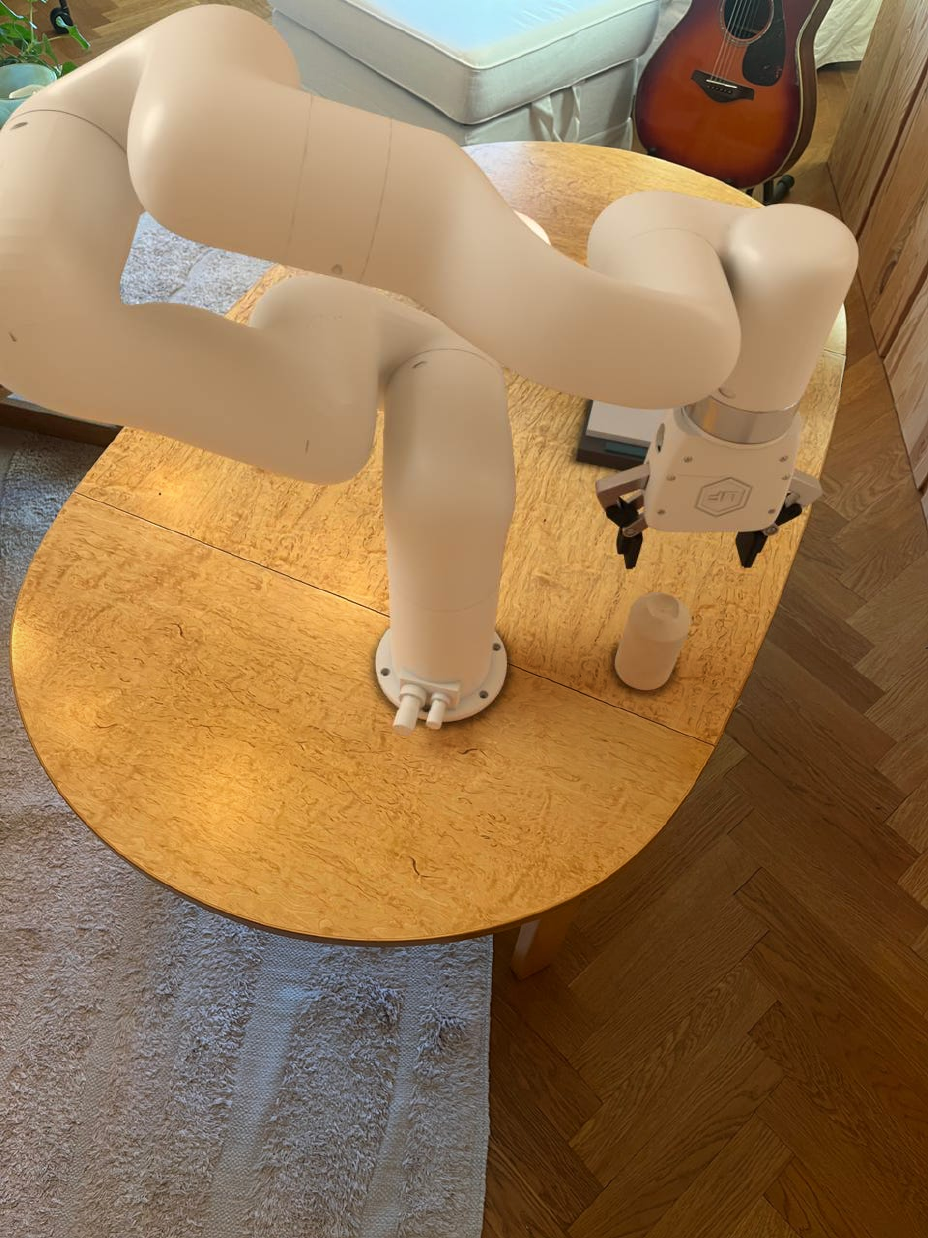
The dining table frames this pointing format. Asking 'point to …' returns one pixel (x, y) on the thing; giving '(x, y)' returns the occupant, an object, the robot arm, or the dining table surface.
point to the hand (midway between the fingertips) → (685, 555)
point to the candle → (652, 640)
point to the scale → (617, 435)
